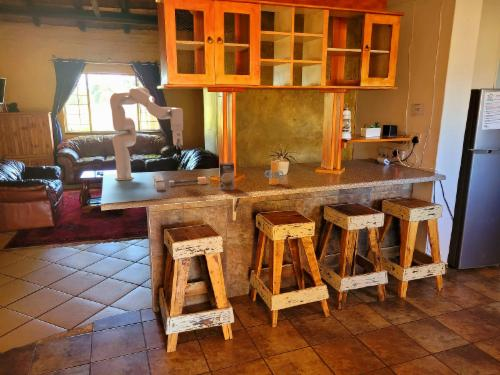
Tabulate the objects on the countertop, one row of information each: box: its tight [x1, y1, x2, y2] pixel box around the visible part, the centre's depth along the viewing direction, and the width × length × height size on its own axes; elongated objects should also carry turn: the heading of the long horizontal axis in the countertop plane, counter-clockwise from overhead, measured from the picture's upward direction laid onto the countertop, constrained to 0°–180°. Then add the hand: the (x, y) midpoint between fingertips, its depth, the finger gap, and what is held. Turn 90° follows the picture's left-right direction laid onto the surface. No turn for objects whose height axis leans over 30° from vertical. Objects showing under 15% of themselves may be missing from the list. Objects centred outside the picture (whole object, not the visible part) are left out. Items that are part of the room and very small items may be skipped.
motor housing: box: [152, 174, 166, 191], centre depth 235 cm, size 20×5×6 cm, turn 19°
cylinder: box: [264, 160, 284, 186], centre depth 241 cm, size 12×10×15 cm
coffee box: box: [219, 162, 235, 191], centre depth 227 cm, size 9×6×16 cm
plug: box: [168, 176, 207, 188], centre depth 241 cm, size 4×24×4 cm, turn 109°
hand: (177, 154), depth 239 cm, fingers open, 9 cm apart
